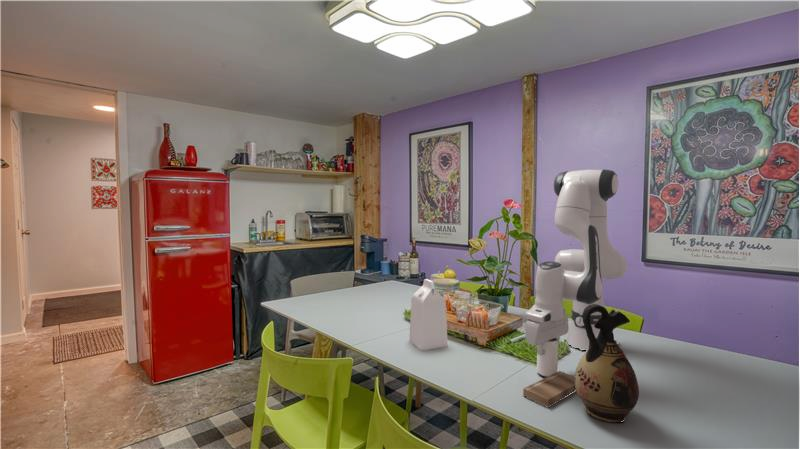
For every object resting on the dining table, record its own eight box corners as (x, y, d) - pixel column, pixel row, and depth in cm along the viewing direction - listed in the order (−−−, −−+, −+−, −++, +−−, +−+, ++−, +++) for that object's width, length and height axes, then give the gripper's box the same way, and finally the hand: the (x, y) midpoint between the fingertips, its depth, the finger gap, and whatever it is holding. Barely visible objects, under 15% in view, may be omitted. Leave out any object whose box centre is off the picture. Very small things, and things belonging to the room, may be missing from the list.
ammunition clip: (463, 341, 158) (464, 313, 157) (465, 340, 159) (466, 312, 158) (488, 347, 151) (489, 317, 151) (490, 345, 153) (490, 316, 152)
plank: (559, 378, 125) (559, 370, 125) (583, 387, 118) (584, 379, 118) (523, 396, 113) (523, 388, 113) (547, 408, 106) (548, 399, 106)
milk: (447, 346, 152) (448, 282, 150) (421, 350, 147) (422, 284, 146) (433, 336, 163) (434, 276, 161) (409, 340, 159) (409, 278, 157)
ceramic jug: (614, 398, 112) (619, 298, 110) (651, 429, 97) (656, 313, 95) (558, 398, 111) (561, 298, 110) (585, 430, 96) (589, 313, 94)
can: (552, 368, 131) (553, 334, 130) (560, 377, 124) (561, 341, 123) (533, 369, 130) (534, 334, 130) (541, 377, 124) (542, 341, 123)
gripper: (556, 304, 135) (555, 342, 135) (522, 314, 122) (521, 356, 123) (574, 308, 130) (572, 347, 130) (539, 319, 117) (538, 362, 118)
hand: (547, 351), depth 127 cm, fingers closed on can, 6 cm apart
